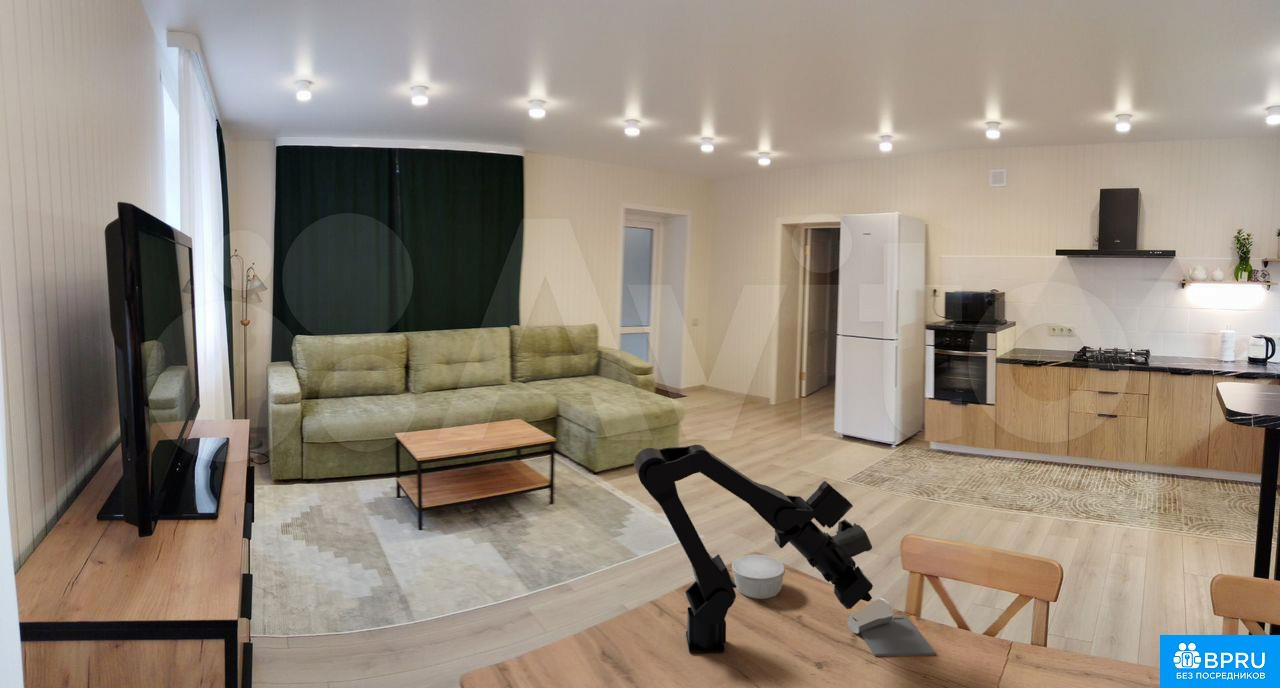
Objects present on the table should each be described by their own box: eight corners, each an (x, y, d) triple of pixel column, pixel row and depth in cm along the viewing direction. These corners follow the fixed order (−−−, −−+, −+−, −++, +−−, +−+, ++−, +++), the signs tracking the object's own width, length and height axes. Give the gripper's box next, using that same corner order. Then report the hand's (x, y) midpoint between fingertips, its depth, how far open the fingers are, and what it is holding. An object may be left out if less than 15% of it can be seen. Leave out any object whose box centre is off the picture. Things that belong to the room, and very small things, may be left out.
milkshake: (866, 628, 121) (906, 610, 125) (846, 607, 126) (885, 590, 130) (862, 645, 123) (901, 626, 127) (842, 624, 128) (881, 606, 132)
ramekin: (724, 594, 140) (724, 571, 139) (741, 572, 150) (742, 550, 149) (775, 607, 135) (776, 583, 134) (790, 583, 145) (790, 560, 144)
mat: (874, 656, 118) (875, 653, 118) (851, 619, 130) (851, 617, 130) (935, 655, 118) (935, 652, 118) (906, 618, 130) (906, 616, 130)
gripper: (863, 535, 112) (923, 595, 114) (829, 496, 131) (881, 548, 133) (816, 579, 113) (876, 638, 115) (788, 534, 132) (841, 585, 133)
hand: (869, 599), depth 124 cm, fingers closed
